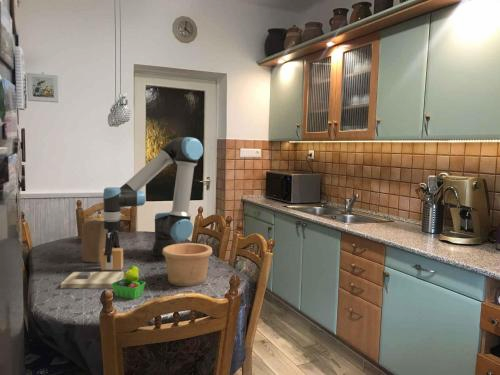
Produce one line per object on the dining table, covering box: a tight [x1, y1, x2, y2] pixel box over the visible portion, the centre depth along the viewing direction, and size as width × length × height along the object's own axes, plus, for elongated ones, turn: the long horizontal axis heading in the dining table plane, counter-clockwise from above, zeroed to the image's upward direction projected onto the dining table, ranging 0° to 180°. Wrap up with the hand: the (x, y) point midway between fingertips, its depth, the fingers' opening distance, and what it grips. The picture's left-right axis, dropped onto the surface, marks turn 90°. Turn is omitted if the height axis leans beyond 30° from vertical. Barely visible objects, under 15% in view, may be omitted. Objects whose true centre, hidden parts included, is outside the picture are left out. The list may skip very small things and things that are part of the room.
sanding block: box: [100, 247, 124, 272], centre depth 189 cm, size 9×5×10 cm, turn 96°
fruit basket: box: [112, 264, 147, 300], centre depth 158 cm, size 11×9×11 cm
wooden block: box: [81, 220, 108, 264], centre depth 204 cm, size 10×10×20 cm
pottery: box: [162, 242, 213, 287], centre depth 178 cm, size 22×22×14 cm
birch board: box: [60, 271, 125, 289], centre depth 173 cm, size 22×16×2 cm
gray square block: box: [78, 271, 91, 279], centre depth 172 cm, size 4×4×2 cm
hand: (112, 265), depth 190 cm, fingers open, 12 cm apart
